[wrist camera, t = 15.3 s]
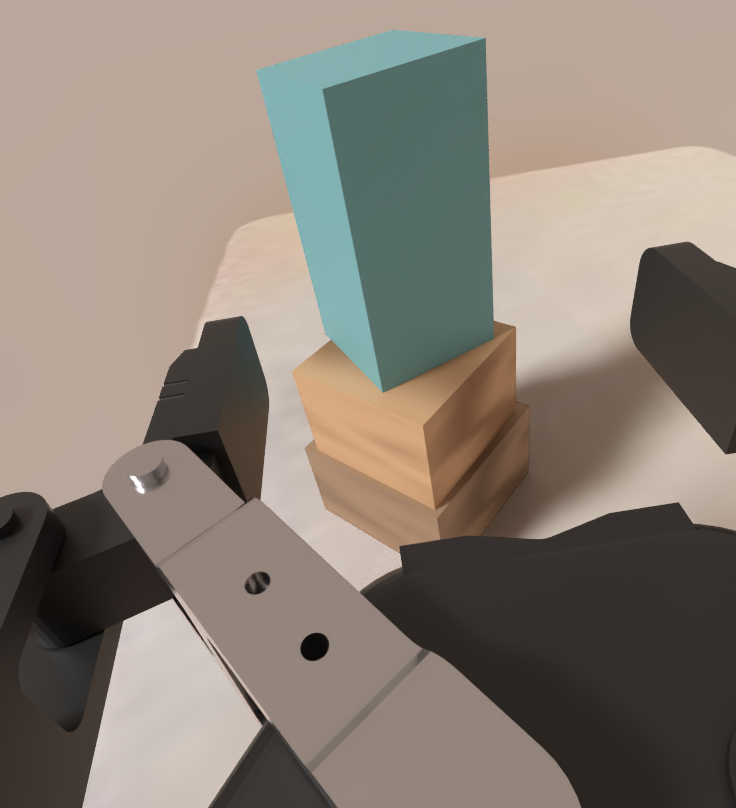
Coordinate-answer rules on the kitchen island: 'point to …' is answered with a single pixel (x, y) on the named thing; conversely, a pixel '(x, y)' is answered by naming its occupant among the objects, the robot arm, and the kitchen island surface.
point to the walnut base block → (412, 520)
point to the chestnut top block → (412, 415)
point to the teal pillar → (391, 194)
